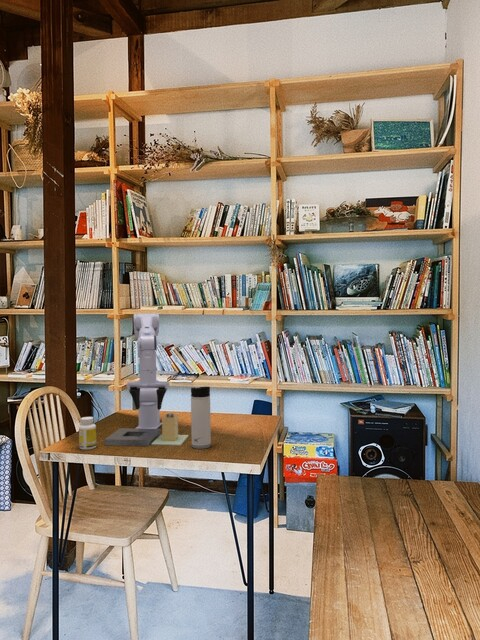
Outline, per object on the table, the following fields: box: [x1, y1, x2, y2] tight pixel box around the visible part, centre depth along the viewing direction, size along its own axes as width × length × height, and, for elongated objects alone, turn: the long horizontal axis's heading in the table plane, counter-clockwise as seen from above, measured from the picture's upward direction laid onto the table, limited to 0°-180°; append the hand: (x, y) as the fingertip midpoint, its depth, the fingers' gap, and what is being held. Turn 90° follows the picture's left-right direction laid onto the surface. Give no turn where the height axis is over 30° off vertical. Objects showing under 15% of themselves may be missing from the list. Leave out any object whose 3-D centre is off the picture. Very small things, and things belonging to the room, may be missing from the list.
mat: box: [150, 434, 189, 447], centre depth 175 cm, size 12×10×1 cm
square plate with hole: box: [104, 427, 162, 447], centre depth 177 cm, size 15×15×2 cm
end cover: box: [161, 413, 179, 441], centre depth 175 cm, size 4×4×9 cm
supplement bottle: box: [78, 416, 97, 451], centre depth 168 cm, size 5×5×10 cm
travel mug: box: [190, 386, 212, 450], centre depth 167 cm, size 6×7×20 cm
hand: (148, 409), depth 177 cm, fingers open, 7 cm apart
